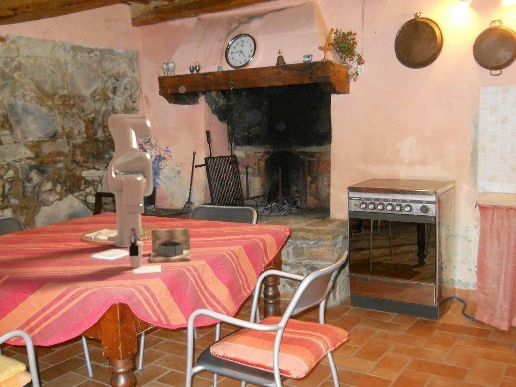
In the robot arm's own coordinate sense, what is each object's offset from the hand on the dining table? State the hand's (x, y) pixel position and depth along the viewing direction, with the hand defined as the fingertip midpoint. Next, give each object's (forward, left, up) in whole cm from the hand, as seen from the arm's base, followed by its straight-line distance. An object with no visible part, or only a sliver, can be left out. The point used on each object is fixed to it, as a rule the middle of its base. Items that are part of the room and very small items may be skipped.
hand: (135, 252), depth 200 cm
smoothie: (0, 0, -6) cm, 6 cm away
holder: (+13, +14, -5) cm, 20 cm away
